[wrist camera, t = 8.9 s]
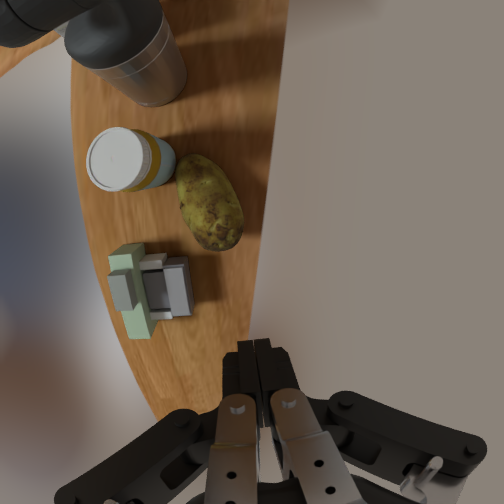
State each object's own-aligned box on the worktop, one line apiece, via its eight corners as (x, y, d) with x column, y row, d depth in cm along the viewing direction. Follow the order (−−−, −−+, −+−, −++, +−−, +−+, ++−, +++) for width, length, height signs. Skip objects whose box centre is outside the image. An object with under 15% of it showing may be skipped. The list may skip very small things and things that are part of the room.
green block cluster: (122, 244, 39) (101, 261, 31) (164, 240, 40) (150, 257, 32) (139, 319, 43) (124, 347, 35) (178, 318, 44) (169, 347, 35)
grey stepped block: (146, 259, 40) (138, 269, 36) (187, 256, 40) (183, 265, 36) (156, 305, 42) (149, 318, 38) (194, 303, 43) (191, 316, 39)
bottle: (134, 138, 35) (87, 123, 21) (180, 140, 36) (152, 122, 22) (129, 185, 37) (79, 194, 23) (174, 188, 38) (143, 198, 24)
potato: (235, 149, 37) (237, 143, 30) (244, 237, 41) (248, 253, 33) (177, 157, 37) (164, 153, 29) (188, 244, 40) (179, 261, 33)
